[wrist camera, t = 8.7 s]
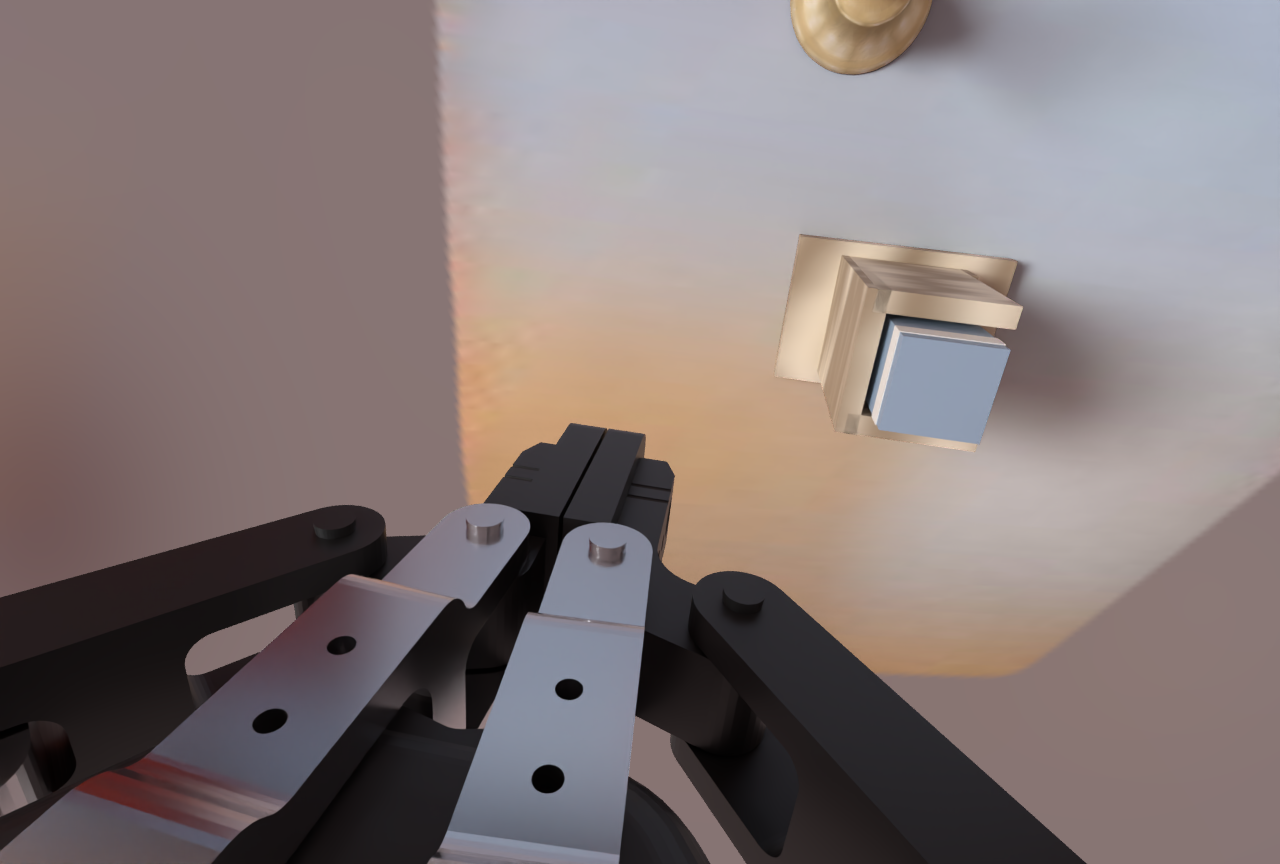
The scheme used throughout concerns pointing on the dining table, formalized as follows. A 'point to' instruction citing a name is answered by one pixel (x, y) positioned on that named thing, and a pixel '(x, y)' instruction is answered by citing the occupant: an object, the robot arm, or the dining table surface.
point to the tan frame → (879, 315)
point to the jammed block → (935, 378)
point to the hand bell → (857, 31)
